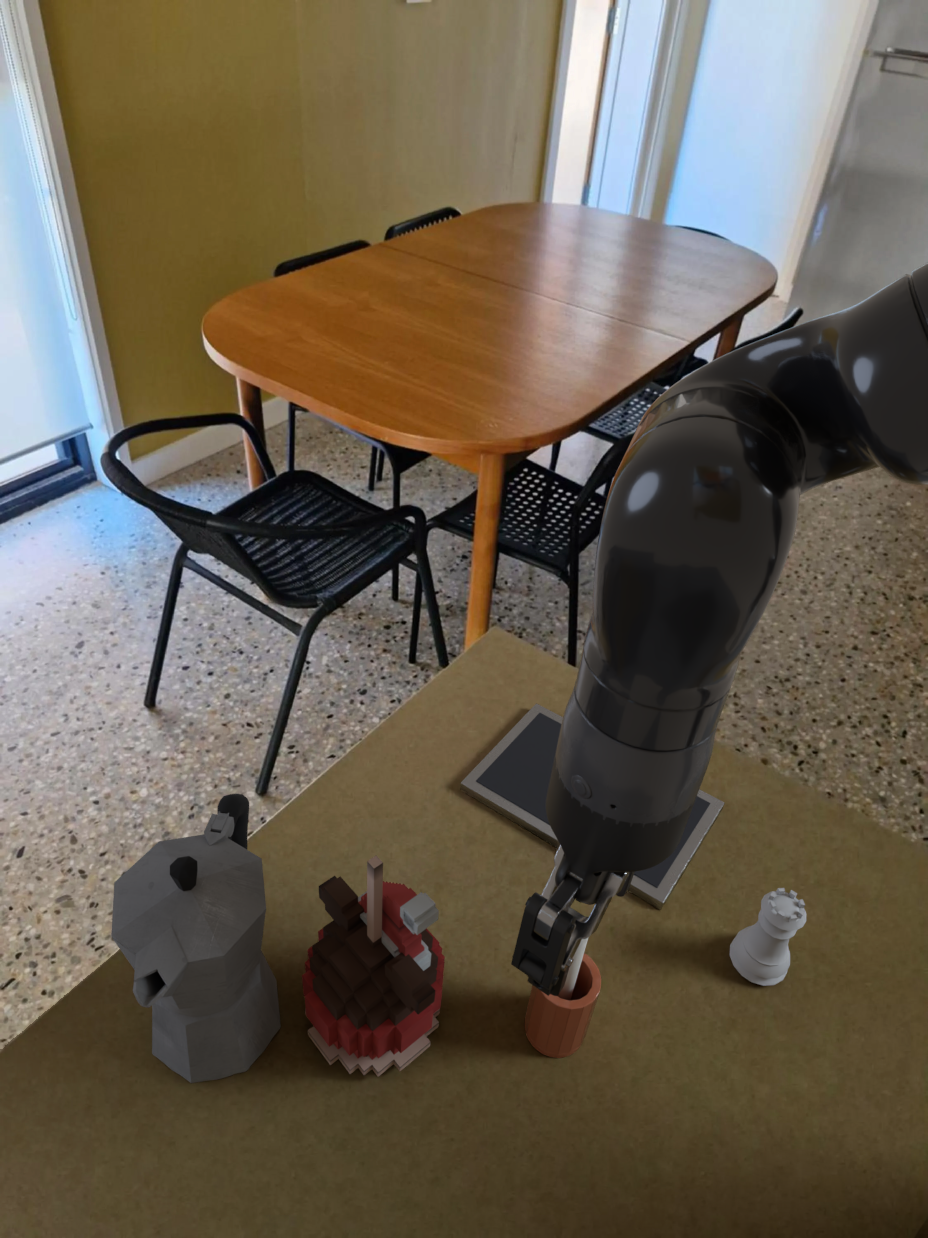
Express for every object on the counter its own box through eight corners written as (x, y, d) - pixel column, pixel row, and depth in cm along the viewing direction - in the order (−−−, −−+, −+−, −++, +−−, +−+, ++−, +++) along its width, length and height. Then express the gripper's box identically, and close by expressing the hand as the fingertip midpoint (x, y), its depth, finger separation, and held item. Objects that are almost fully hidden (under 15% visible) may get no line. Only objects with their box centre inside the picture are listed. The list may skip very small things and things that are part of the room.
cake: (277, 997, 64) (257, 844, 53) (380, 923, 69) (382, 769, 58) (366, 1118, 58) (365, 975, 47) (471, 1027, 63) (494, 879, 52)
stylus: (566, 1021, 63) (595, 919, 55) (558, 1034, 63) (587, 932, 55) (553, 1012, 64) (580, 909, 56) (545, 1024, 63) (571, 922, 55)
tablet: (722, 809, 80) (725, 801, 80) (660, 910, 72) (663, 902, 71) (535, 710, 89) (536, 702, 88) (459, 789, 80) (460, 781, 79)
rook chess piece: (716, 957, 69) (743, 898, 64) (750, 925, 71) (779, 866, 66) (764, 1001, 66) (796, 943, 61) (797, 966, 69) (831, 908, 64)
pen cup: (596, 1021, 64) (612, 971, 60) (565, 1071, 61) (580, 1022, 57) (544, 986, 66) (556, 934, 62) (512, 1033, 63) (523, 982, 59)
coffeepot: (250, 1130, 57) (221, 987, 46) (110, 1103, 58) (47, 956, 46) (316, 919, 69) (305, 764, 58) (199, 899, 70) (166, 742, 58)
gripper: (630, 895, 40) (575, 1061, 50) (747, 717, 49) (680, 887, 59) (491, 811, 43) (466, 983, 53) (626, 658, 52) (582, 830, 62)
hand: (579, 932), depth 56 cm, fingers open, 8 cm apart
